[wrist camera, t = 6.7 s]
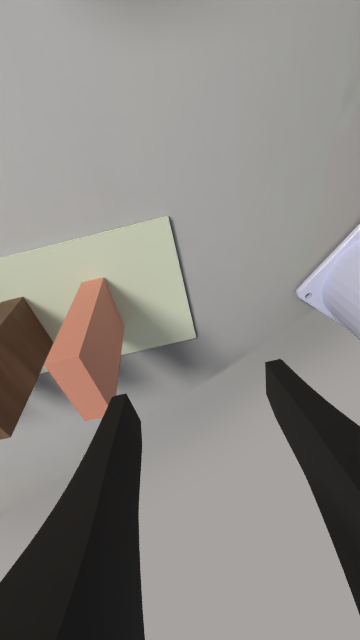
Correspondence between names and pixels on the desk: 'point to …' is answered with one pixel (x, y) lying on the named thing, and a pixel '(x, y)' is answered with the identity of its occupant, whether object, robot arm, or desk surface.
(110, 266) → the runner mat
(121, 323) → the domino
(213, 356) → the desk surface
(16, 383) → the domino
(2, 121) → the desk surface
